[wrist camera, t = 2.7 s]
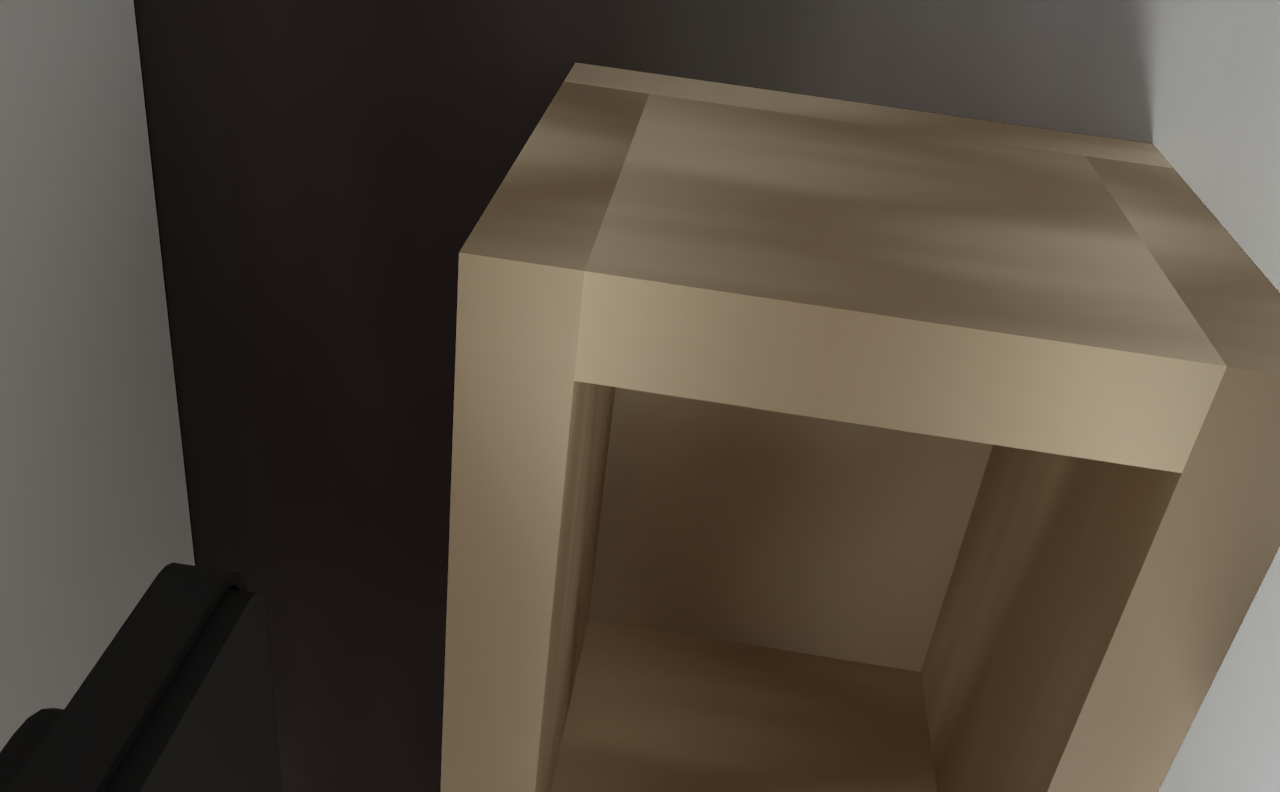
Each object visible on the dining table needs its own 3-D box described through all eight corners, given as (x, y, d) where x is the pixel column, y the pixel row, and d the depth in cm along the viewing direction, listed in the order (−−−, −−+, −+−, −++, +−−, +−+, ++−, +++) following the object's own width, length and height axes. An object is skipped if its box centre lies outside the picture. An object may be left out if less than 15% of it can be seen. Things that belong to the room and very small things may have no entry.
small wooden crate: (1150, 141, 14) (1358, 385, 9) (962, 683, 19) (1028, 1052, 14) (577, 59, 14) (459, 252, 9) (531, 615, 19) (434, 950, 14)
